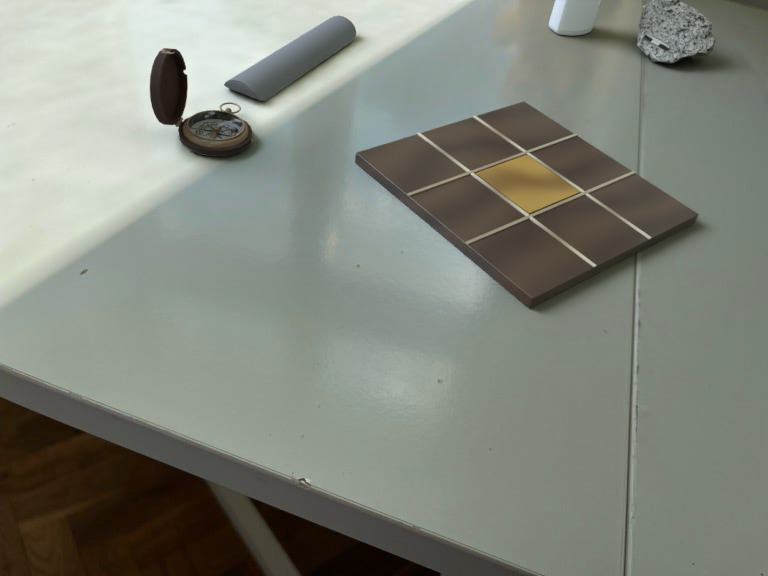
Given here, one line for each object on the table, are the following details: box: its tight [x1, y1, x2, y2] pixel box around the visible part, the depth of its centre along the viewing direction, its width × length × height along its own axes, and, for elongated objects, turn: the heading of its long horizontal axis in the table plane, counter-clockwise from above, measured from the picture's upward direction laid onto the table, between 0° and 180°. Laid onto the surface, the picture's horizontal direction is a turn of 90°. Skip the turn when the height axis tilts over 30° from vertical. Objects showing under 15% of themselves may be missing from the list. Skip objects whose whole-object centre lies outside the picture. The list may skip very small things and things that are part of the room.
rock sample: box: [636, 0, 717, 65], centre depth 93 cm, size 10×8×9 cm
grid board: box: [354, 101, 700, 309], centre depth 67 cm, size 21×21×1 cm
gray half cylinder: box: [223, 15, 357, 102], centre depth 79 cm, size 4×20×2 cm, turn 153°
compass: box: [149, 47, 254, 158], centre depth 65 cm, size 8×8×7 cm
